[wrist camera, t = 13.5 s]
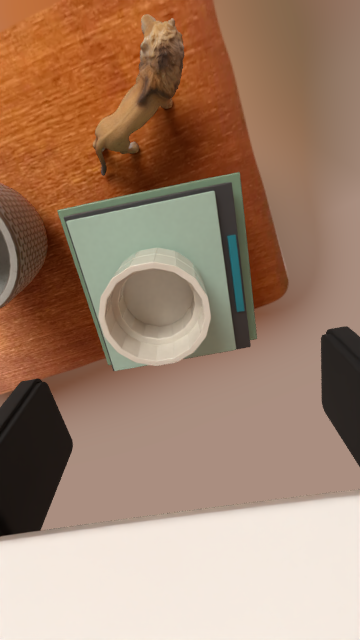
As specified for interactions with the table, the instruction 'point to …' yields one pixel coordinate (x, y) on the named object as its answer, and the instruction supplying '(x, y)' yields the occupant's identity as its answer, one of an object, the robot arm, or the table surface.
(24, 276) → the planter
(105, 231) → the scale
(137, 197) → the stand
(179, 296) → the bowl
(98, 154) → the lion figurine
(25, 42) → the table surface
